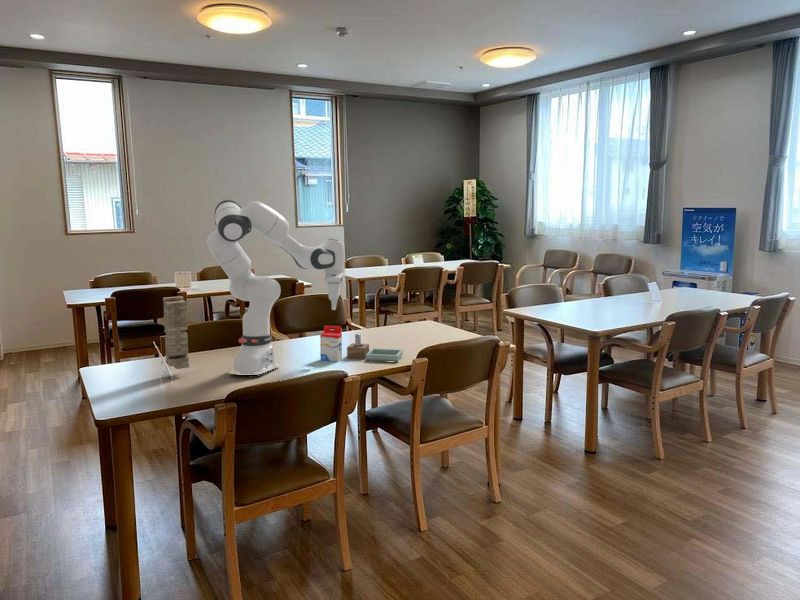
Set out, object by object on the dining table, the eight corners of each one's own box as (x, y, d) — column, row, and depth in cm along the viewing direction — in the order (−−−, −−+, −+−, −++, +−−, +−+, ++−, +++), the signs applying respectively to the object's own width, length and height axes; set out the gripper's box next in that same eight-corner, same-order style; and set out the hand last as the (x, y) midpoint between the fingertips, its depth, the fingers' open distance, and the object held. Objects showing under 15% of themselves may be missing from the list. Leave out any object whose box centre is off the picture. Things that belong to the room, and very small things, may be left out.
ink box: (320, 360, 262) (319, 327, 260) (324, 358, 267) (323, 325, 265) (338, 361, 260) (338, 328, 258) (342, 359, 265) (341, 326, 263)
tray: (397, 362, 258) (397, 355, 258) (365, 361, 261) (365, 354, 260) (402, 356, 270) (402, 349, 269) (372, 355, 272) (372, 348, 272)
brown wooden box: (364, 359, 265) (364, 347, 264) (347, 358, 267) (347, 347, 266) (369, 354, 273) (369, 344, 272) (352, 354, 274) (351, 343, 274)
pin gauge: (360, 357, 268) (359, 335, 267) (354, 357, 269) (354, 335, 267) (361, 356, 271) (361, 334, 269) (356, 355, 271) (355, 333, 270)
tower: (170, 370, 246) (166, 299, 242) (165, 366, 253) (161, 297, 249) (190, 368, 250) (186, 298, 246) (185, 363, 257) (181, 295, 253)
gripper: (328, 274, 272) (328, 305, 273) (325, 278, 251) (325, 311, 253) (342, 274, 272) (342, 305, 274) (340, 278, 252) (340, 311, 253)
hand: (334, 308), depth 263 cm, fingers open, 8 cm apart
